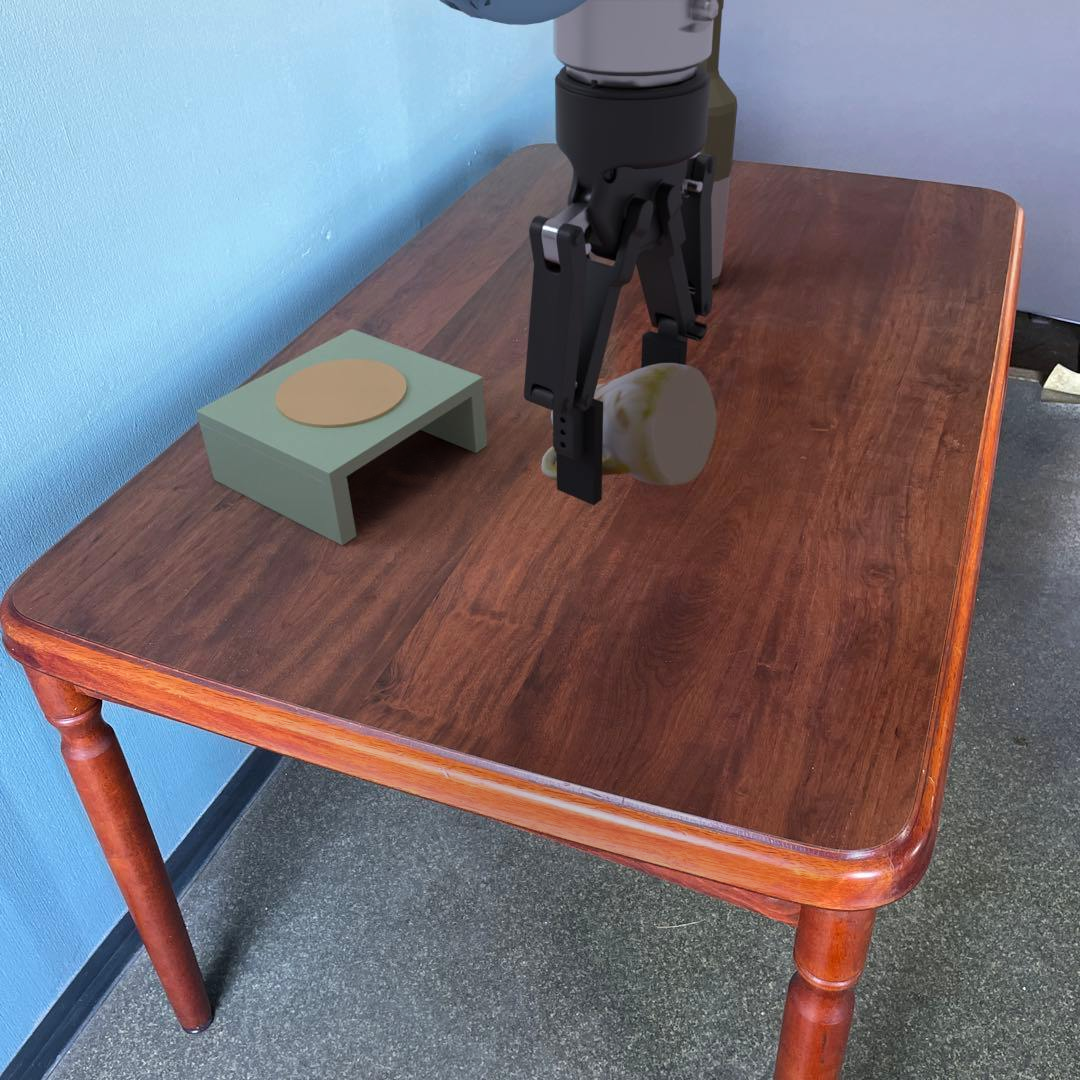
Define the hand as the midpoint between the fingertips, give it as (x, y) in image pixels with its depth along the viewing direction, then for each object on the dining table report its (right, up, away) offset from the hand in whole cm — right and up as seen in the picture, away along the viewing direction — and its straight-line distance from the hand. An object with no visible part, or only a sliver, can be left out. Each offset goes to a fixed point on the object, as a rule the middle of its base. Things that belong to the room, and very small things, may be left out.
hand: (621, 461), depth 65 cm
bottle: (+12, +25, +57) cm, 63 cm away
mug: (0, 0, 0) cm, 0 cm away
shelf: (-22, +2, +29) cm, 36 cm away
